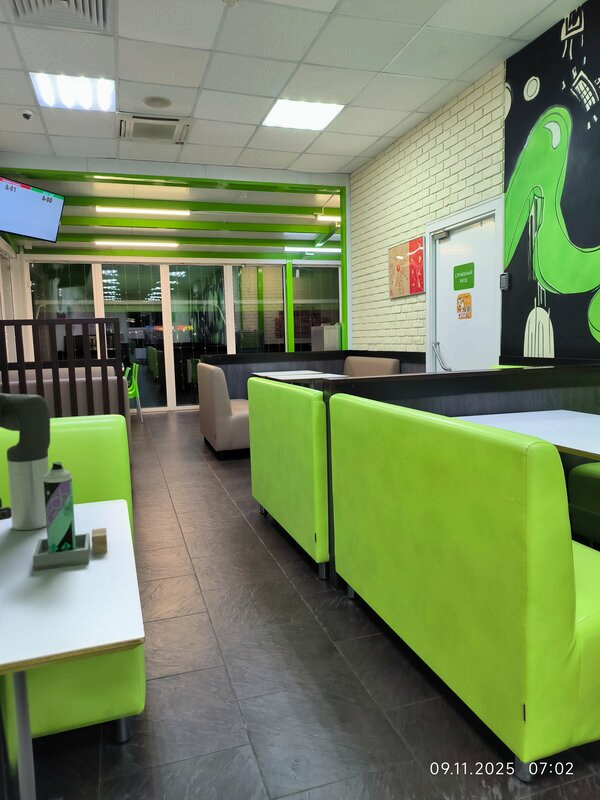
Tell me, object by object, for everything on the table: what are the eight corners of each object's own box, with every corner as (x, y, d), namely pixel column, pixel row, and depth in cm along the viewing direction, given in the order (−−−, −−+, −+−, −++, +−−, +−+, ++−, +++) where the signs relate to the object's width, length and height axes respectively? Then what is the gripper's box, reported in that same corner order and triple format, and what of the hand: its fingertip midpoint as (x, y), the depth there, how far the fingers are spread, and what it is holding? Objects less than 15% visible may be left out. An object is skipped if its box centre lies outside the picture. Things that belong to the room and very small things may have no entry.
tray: (39, 552, 122) (38, 539, 122) (90, 545, 126) (89, 533, 125) (34, 570, 112) (33, 556, 112) (88, 563, 116) (88, 549, 116)
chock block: (93, 546, 126) (92, 529, 125) (107, 544, 127) (106, 527, 126) (92, 554, 121) (91, 536, 121) (107, 552, 122) (106, 534, 121)
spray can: (50, 551, 121) (44, 461, 118) (77, 548, 122) (71, 459, 120) (47, 560, 115) (40, 466, 113) (75, 557, 117) (69, 464, 115)
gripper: (-91, 514, 95) (13, 496, 105) (-98, 496, 106) (-3, 482, 116) (-87, 556, 96) (16, 534, 106) (-95, 534, 107) (-1, 516, 117)
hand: (6, 507), depth 111 cm, fingers open, 8 cm apart
